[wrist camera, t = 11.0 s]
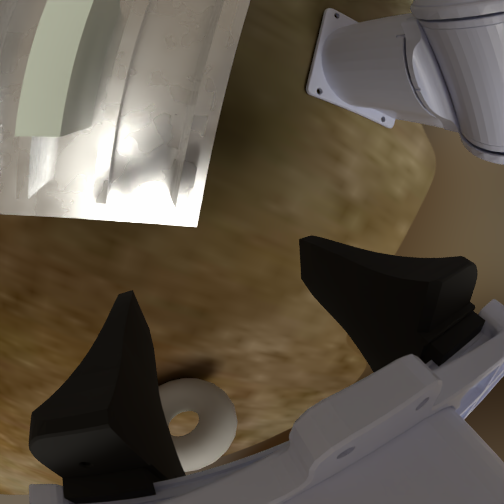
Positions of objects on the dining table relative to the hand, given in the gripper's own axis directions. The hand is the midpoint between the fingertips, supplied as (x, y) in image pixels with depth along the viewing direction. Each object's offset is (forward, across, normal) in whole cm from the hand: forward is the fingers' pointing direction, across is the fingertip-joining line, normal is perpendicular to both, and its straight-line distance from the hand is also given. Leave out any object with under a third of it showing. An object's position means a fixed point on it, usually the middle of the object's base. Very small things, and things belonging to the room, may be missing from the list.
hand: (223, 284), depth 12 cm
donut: (+11, +6, +17) cm, 21 cm away
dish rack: (+10, +4, -11) cm, 16 cm away
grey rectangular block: (+9, +4, -11) cm, 15 cm away
